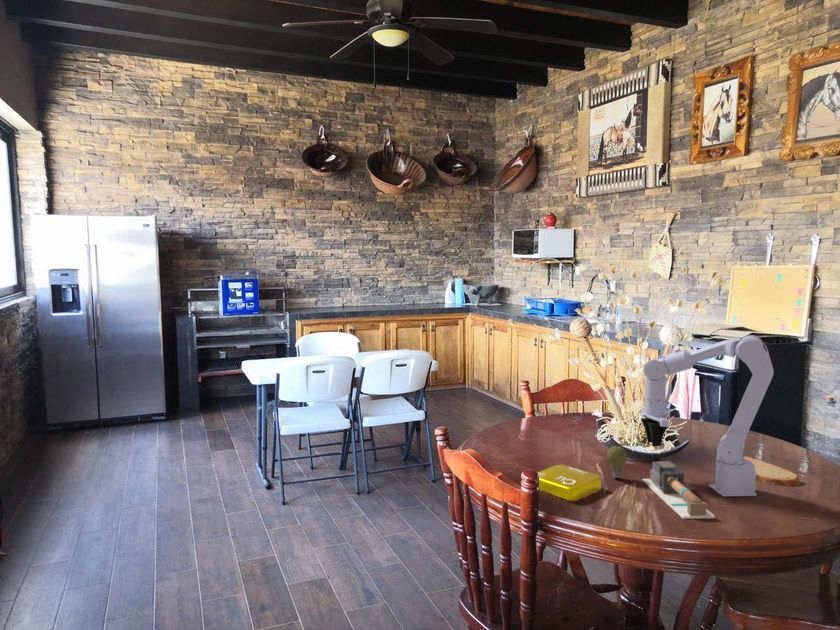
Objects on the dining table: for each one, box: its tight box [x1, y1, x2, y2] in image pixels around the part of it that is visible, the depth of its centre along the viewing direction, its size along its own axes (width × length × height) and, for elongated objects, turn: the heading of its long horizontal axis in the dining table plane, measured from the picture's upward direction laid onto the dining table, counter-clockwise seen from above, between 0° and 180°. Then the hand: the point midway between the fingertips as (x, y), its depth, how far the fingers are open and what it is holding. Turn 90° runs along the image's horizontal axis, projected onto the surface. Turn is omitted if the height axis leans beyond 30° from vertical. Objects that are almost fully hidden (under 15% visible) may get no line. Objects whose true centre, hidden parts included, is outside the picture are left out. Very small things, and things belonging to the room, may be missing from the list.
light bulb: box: [606, 445, 628, 479], centre depth 175 cm, size 6×6×10 cm
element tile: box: [537, 463, 602, 500], centre depth 168 cm, size 15×15×5 cm
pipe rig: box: [642, 468, 716, 520], centre depth 160 cm, size 26×8×5 cm, turn 1°
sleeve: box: [651, 460, 679, 488], centre depth 167 cm, size 5×5×6 cm
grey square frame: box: [662, 471, 685, 493], centre depth 162 cm, size 1×5×5 cm, turn 91°
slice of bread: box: [743, 455, 802, 487], centre depth 178 cm, size 18×18×4 cm
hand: (653, 444), depth 174 cm, fingers open, 3 cm apart
